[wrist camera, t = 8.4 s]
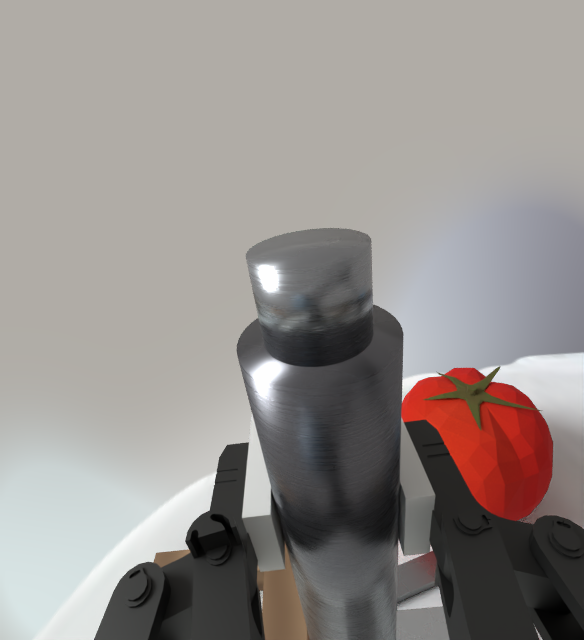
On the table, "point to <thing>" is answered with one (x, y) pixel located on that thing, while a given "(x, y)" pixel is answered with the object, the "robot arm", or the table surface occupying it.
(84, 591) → the table surface
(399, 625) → the socket collar
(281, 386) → the metal bottle
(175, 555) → the frame
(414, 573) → the bar
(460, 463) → the tomato
